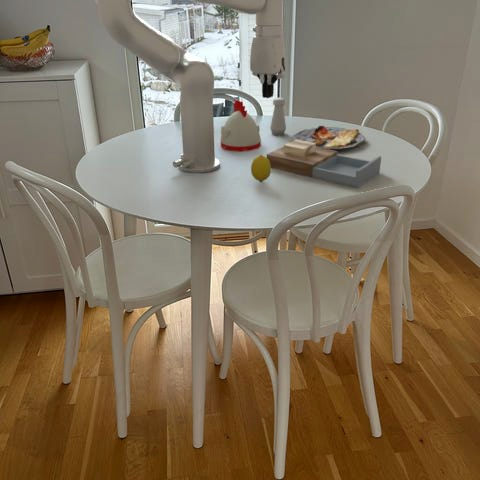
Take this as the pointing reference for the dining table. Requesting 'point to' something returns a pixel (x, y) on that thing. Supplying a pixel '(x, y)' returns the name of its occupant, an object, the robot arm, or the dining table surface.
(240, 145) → the kitchen timer
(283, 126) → the salt shaker
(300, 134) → the food plate
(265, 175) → the lemon
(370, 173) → the box
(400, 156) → the dining table surface
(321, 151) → the wooden square board
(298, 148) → the tile
